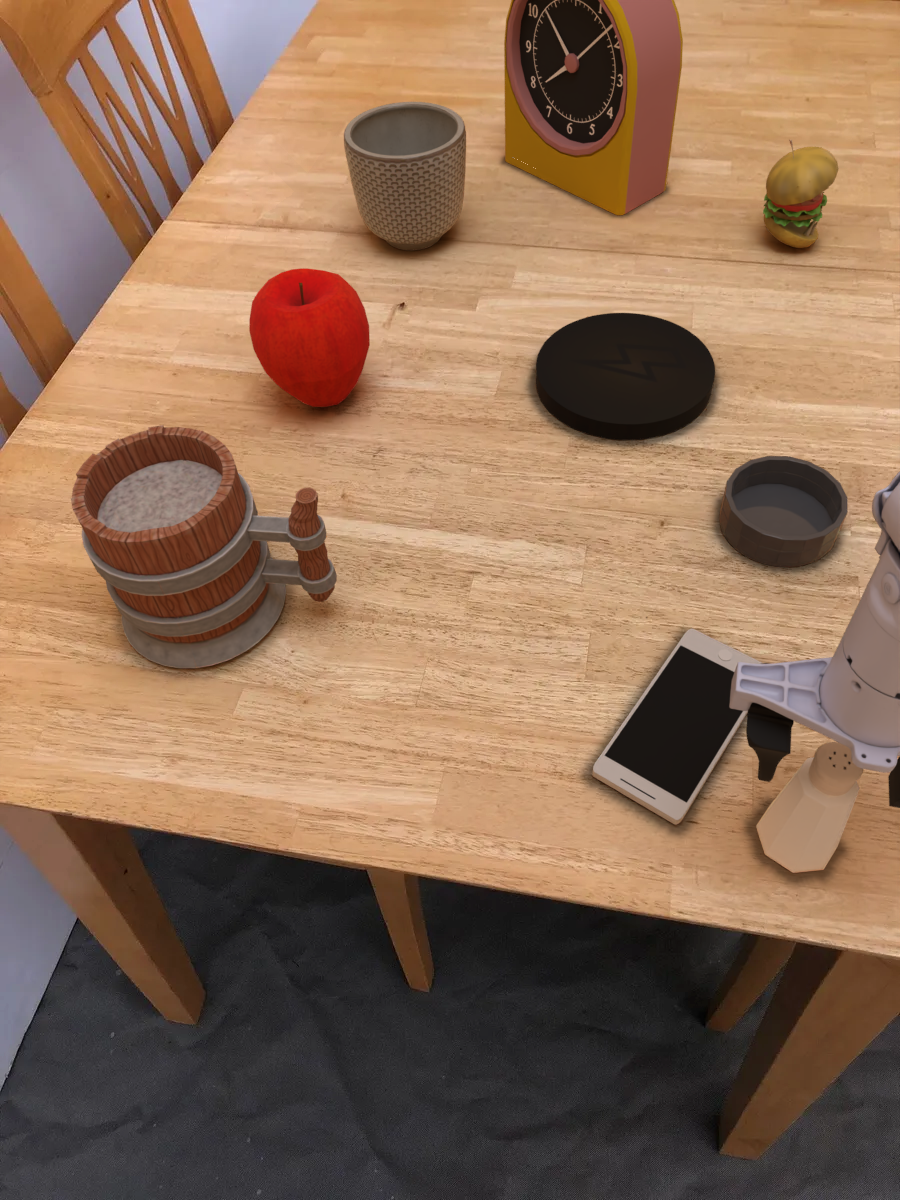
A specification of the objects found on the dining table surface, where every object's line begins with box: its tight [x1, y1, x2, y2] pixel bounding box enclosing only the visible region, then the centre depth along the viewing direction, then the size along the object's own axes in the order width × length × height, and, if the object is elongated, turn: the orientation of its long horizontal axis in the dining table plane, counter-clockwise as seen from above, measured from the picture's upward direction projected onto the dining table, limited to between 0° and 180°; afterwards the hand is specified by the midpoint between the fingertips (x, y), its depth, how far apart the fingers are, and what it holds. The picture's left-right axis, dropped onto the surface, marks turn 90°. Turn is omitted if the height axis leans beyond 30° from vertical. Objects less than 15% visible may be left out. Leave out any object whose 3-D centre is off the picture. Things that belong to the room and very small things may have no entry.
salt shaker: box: [755, 741, 864, 874], centre depth 59 cm, size 5×5×11 cm
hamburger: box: [762, 139, 839, 249], centre depth 104 cm, size 8×7×12 cm
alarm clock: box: [503, 0, 684, 216], centre depth 111 cm, size 21×9×26 cm, turn 42°
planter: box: [343, 101, 467, 252], centre depth 109 cm, size 14×14×13 cm
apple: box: [248, 267, 371, 408], centre depth 91 cm, size 12×12×13 cm
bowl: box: [718, 455, 849, 568], centre depth 80 cm, size 10×10×4 cm
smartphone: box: [591, 628, 763, 825], centre depth 69 cm, size 7×16×1 cm, turn 144°
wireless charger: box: [535, 312, 716, 441], centre depth 94 cm, size 18×18×2 cm
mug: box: [70, 424, 338, 669], centre depth 73 cm, size 14×19×15 cm
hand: (828, 779), depth 57 cm, fingers open, 7 cm apart
